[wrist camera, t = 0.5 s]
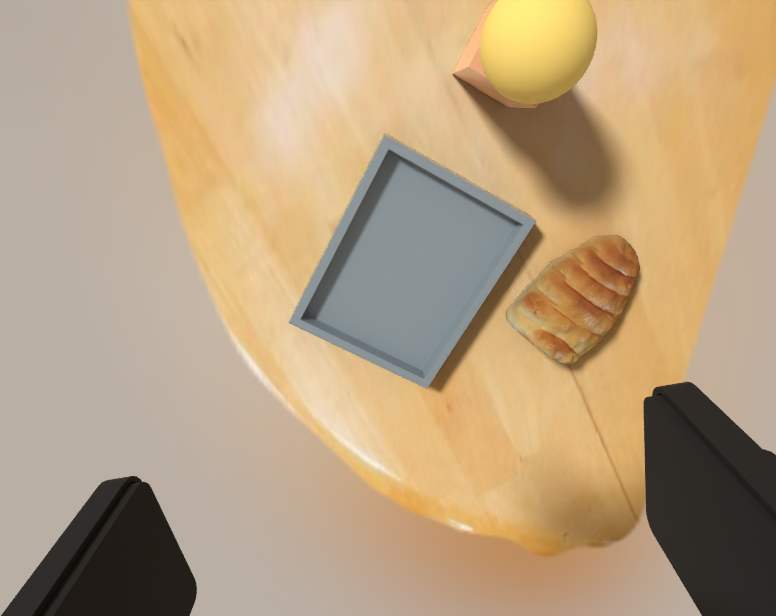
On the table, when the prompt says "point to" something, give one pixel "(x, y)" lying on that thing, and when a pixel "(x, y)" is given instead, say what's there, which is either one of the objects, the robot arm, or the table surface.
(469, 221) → the tray
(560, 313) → the pastry
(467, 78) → the open box
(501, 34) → the ball
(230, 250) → the table surface
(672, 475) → the robot arm
